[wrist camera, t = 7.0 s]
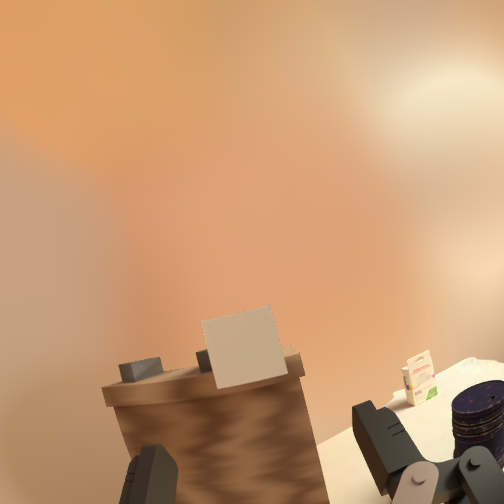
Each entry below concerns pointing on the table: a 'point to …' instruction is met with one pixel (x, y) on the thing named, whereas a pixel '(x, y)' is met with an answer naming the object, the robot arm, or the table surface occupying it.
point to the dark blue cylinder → (480, 419)
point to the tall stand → (223, 431)
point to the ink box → (419, 379)
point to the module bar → (244, 347)
